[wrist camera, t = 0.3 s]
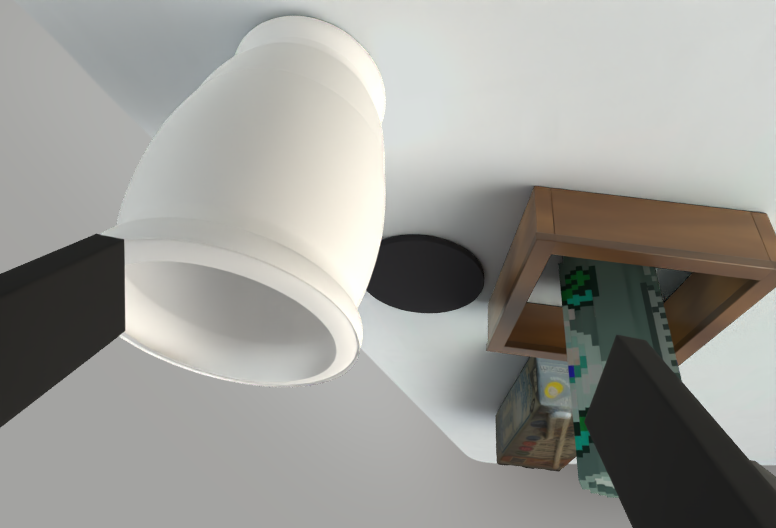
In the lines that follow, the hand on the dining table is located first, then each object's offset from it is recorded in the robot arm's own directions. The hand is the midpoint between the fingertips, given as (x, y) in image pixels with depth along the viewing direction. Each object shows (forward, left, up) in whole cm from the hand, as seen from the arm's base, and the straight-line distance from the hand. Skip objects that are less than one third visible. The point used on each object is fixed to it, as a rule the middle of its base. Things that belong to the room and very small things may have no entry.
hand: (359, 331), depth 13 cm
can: (+17, +15, -17) cm, 28 cm away
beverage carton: (+39, +18, -17) cm, 46 cm away
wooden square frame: (+17, +15, -17) cm, 28 cm away
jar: (+5, -5, -17) cm, 18 cm away
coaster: (+21, +2, -17) cm, 27 cm away
